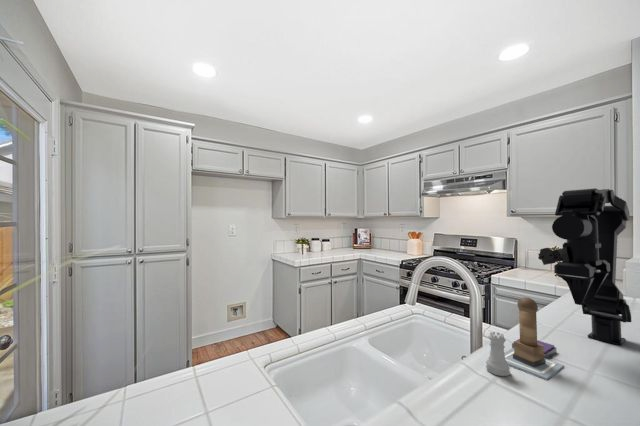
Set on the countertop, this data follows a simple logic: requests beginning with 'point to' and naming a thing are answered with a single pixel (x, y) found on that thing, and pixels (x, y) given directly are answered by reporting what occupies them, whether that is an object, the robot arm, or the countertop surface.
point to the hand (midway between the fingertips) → (584, 301)
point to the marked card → (539, 371)
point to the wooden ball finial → (528, 335)
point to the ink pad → (545, 349)
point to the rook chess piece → (497, 356)
